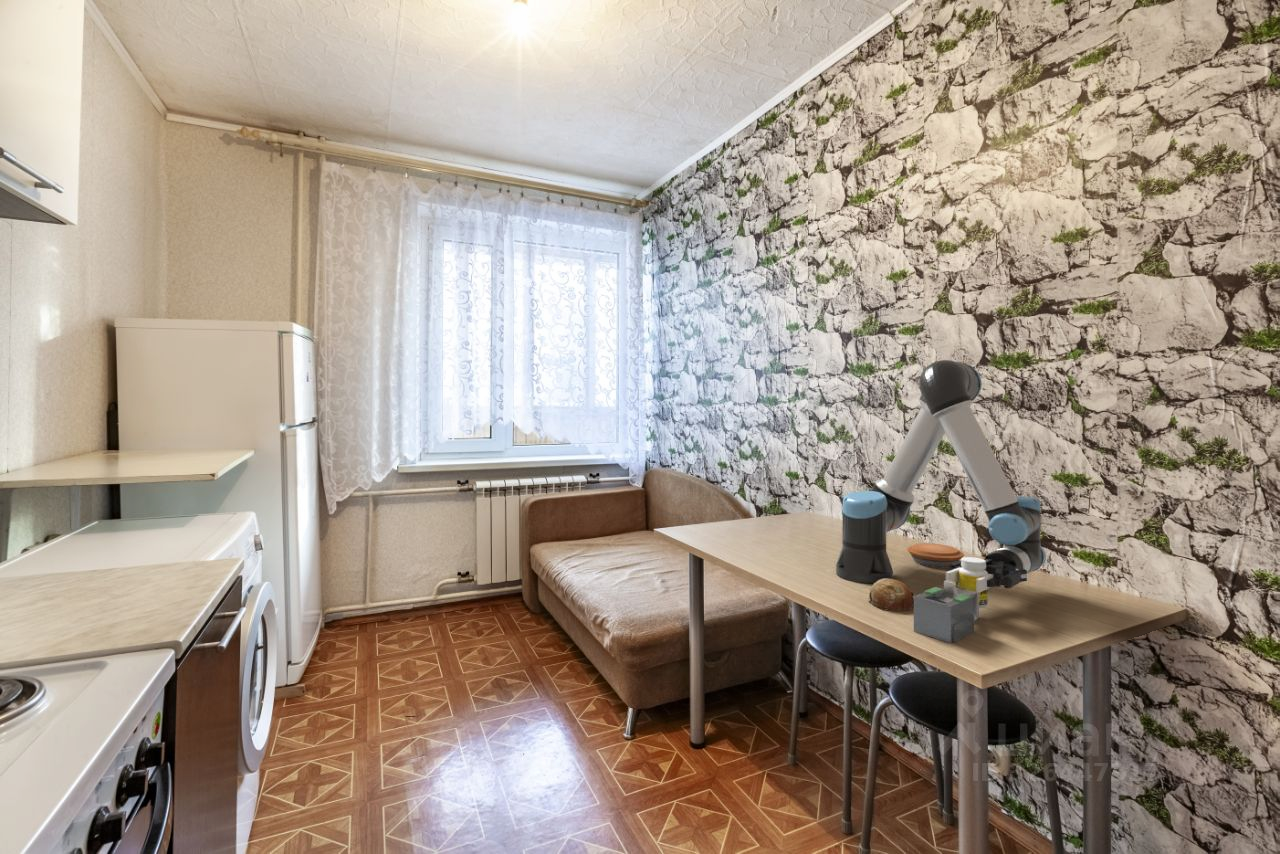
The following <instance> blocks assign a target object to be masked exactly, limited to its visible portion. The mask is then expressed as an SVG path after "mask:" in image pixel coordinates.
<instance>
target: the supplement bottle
mask: <svg viewBox="0 0 1280 854" xmlns="http://www.w3.org/2000/svg"><path fill="white" fill-rule="evenodd" d="M960 561H961V566H962V567H961V568H960V569H959V581H958V587H961V588H966V589H970V590H974V591H976V579H978V578H981V577H983V576H986V575H988V573H987V571H986V570H984V569H986V561H985V560H984V558H980V557H975V556H974V557H972V556H971V557H970V556H963V557H962V558H961V559H960ZM988 595H989V589H987V590H984V591H982V592H979V609H983V608H986V607H988V604H989V603H988V602H989V599H988V597H989V596H988Z"/></svg>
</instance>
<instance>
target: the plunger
mask: <svg viewBox="0 0 1280 854" xmlns="http://www.w3.org/2000/svg"><path fill="white" fill-rule="evenodd" d="M956 583H957V582H952V581H948V580H946V579H945V580H943V589H944V599H942V600H939V602H941V603H948V602H950V601H952V600H953V599H954V598H956V597H958V596H960V595H963V594H965V595H969V596H973V597H974V600H973V615H974V621H975V620H976V621H977V620H979V619H980V608H979V592H976V591H974V590H970V589H966V588H961V587H959V586H957V584H956Z"/></svg>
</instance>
